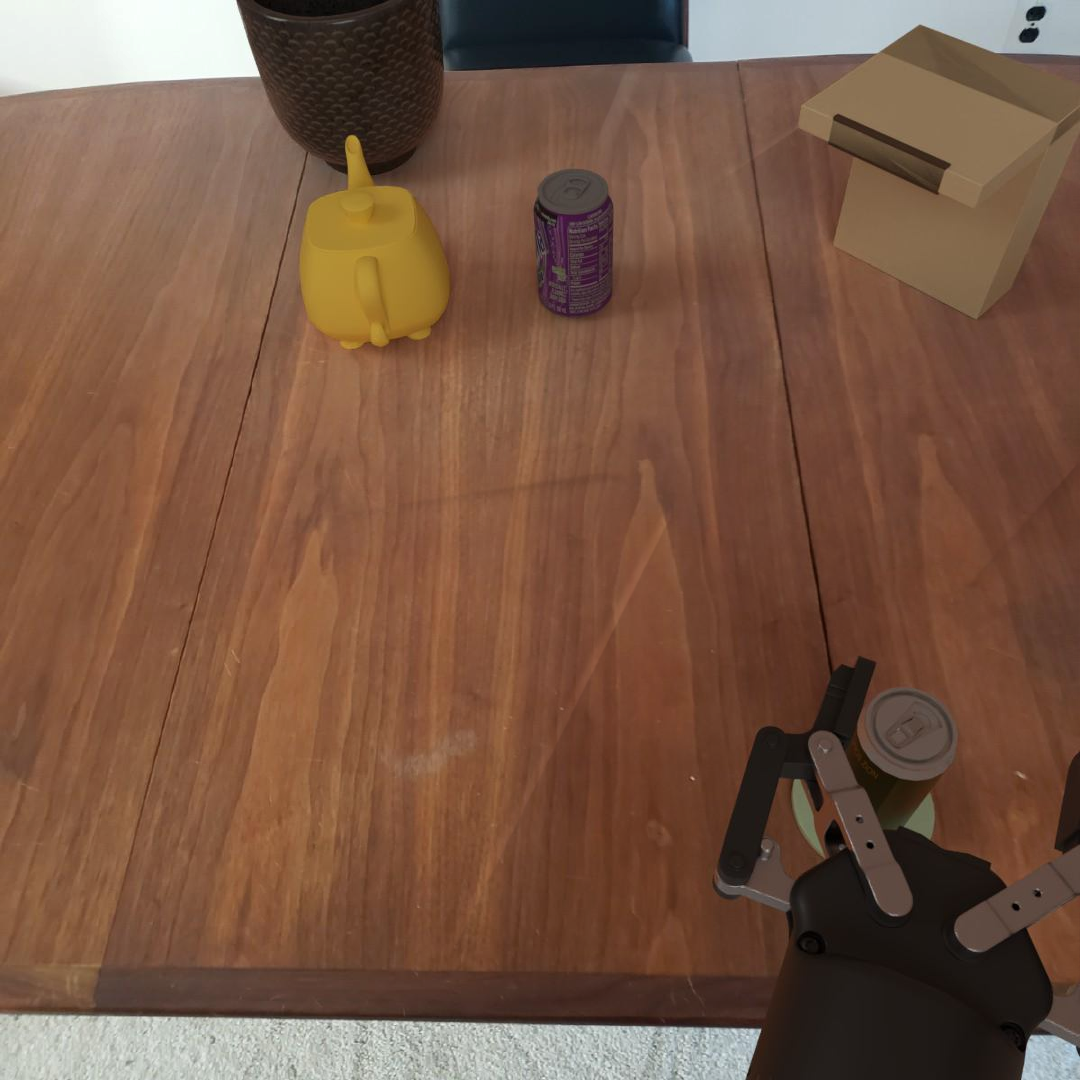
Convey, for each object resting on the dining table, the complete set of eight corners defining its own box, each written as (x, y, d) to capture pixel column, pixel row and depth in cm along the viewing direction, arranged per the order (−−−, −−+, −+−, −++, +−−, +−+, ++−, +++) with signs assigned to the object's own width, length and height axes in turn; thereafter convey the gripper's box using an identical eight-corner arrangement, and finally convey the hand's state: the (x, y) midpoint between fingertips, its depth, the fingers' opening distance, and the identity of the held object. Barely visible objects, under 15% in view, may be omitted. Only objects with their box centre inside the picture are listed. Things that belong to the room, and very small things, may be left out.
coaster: (946, 773, 65) (948, 770, 64) (913, 899, 60) (916, 896, 60) (813, 721, 67) (815, 718, 67) (772, 838, 63) (774, 835, 62)
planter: (423, 212, 103) (393, 31, 87) (254, 190, 106) (196, 12, 91) (478, 110, 114) (460, -67, 98) (323, 93, 117) (282, -80, 102)
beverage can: (554, 267, 97) (549, 159, 87) (621, 282, 95) (624, 173, 85) (527, 313, 93) (519, 205, 83) (597, 329, 91) (597, 221, 81)
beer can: (862, 863, 61) (912, 792, 51) (802, 795, 64) (840, 715, 54) (923, 815, 62) (983, 738, 53) (862, 751, 65) (910, 666, 55)
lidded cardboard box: (911, 380, 85) (983, 183, 69) (766, 297, 93) (801, 102, 76) (1033, 268, 93) (1124, 68, 77) (890, 199, 100) (946, 3, 84)
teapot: (314, 386, 88) (277, 274, 78) (310, 249, 100) (277, 135, 90) (463, 364, 89) (446, 250, 79) (442, 230, 101) (424, 116, 90)
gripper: (1179, 1297, 24) (1229, 739, 32) (643, 1024, 28) (808, 591, 36) (1061, 1283, 30) (1128, 818, 38) (635, 1061, 34) (778, 684, 42)
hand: (972, 708), depth 37 cm, fingers open, 8 cm apart
